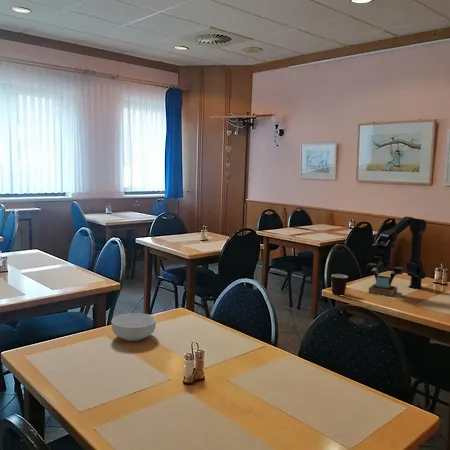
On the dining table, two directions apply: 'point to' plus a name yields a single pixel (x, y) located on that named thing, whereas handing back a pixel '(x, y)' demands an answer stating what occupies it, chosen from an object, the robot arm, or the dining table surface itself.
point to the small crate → (383, 281)
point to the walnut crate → (383, 290)
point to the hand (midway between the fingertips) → (383, 283)
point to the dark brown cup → (338, 284)
